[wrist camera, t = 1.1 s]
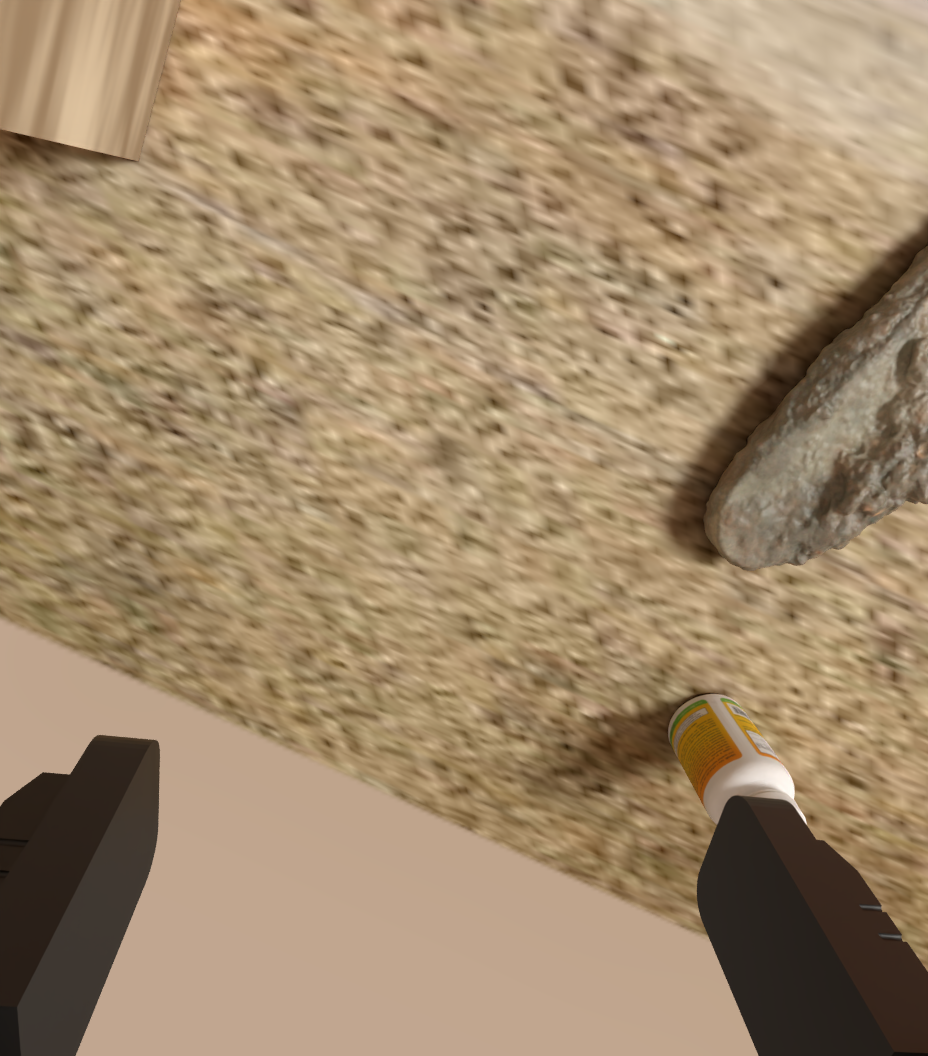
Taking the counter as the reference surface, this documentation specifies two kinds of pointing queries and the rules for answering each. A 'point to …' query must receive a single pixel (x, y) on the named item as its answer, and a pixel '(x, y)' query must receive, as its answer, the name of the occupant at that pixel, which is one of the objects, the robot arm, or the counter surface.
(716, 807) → the supplement bottle
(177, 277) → the counter surface
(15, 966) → the robot arm
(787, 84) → the counter surface
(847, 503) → the long grey stone
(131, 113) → the short stand
